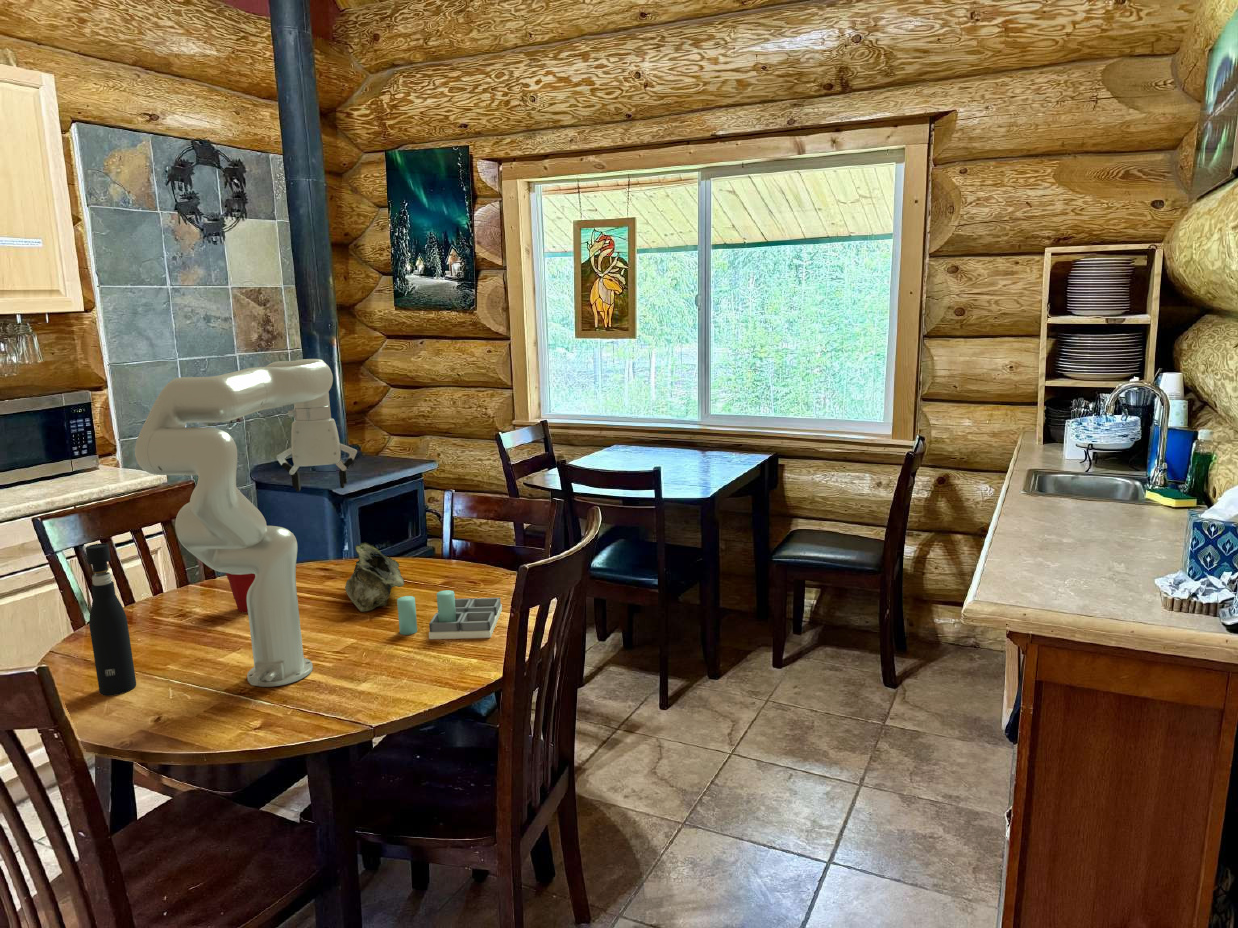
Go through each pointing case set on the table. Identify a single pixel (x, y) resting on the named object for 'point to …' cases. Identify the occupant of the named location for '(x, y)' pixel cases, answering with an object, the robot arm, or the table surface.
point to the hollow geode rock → (372, 578)
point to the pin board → (464, 617)
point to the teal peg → (407, 615)
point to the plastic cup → (240, 588)
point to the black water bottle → (109, 628)
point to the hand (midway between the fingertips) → (320, 488)
